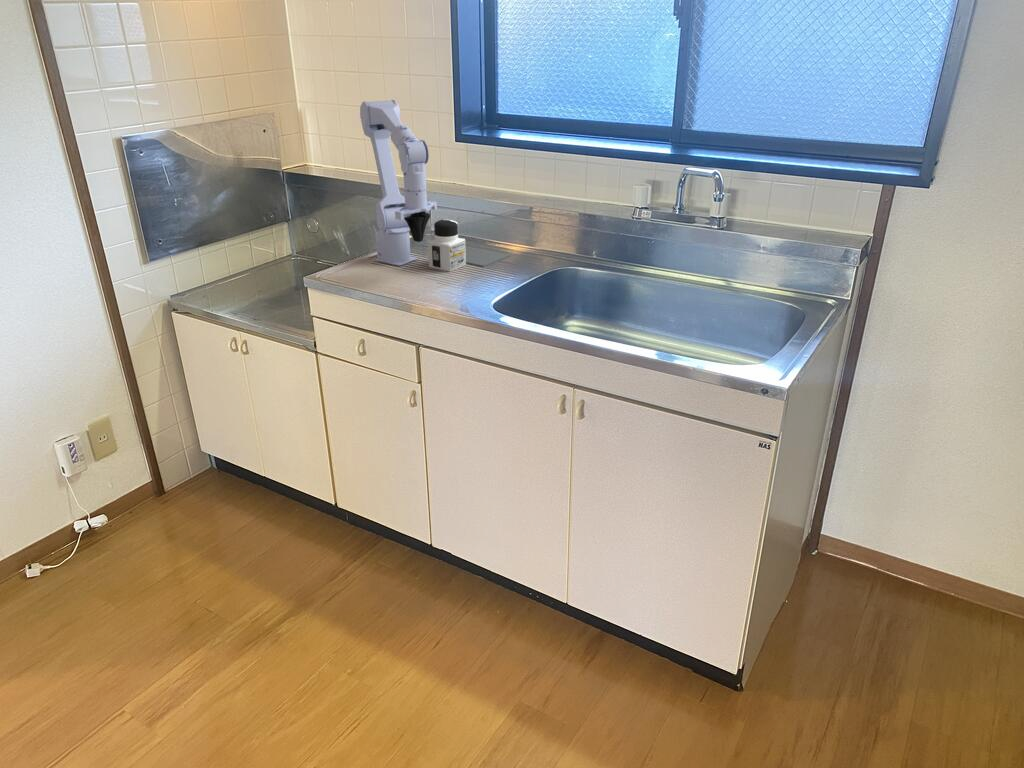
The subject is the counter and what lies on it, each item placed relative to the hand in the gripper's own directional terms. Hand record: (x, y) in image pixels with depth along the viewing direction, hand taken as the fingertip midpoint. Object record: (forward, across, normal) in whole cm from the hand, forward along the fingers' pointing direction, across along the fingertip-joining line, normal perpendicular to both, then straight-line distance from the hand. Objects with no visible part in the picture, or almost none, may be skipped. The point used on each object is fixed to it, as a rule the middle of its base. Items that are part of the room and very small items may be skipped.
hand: (418, 240), depth 207 cm
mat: (+10, +24, 0) cm, 26 cm away
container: (+10, +12, 0) cm, 16 cm away
